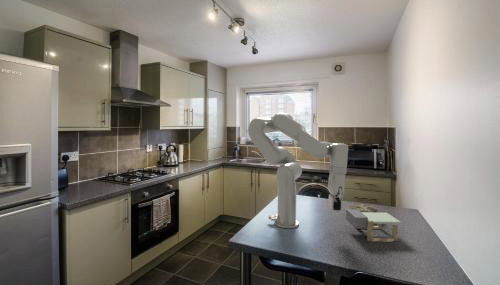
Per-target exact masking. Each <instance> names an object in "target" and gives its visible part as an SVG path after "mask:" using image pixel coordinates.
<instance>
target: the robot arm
mask: <svg viewBox="0 0 500 285" xmlns="http://www.w3.org/2000/svg"><path fill="white" fill-rule="evenodd" d="M279 131H280V132H281V133H283V134H284V135H285V136H287V137H288V138H289V139H291V140H292V141H294V143H295V144H296V145H297V146H298V147H299V148H300V149H302V150H303V151H304V152H306V153H307V154H308V155H310V156H312V157H313V158H315V159H319V160H321V159H324V158H327V157H329V171H328V172H329V174H328V175H329V176H328V182H327V190H328V192H329V193H330V194H331V195H335V201H334V207H333V209H334V210H333V211H336V210H341V202H342V198H343V199H344V196H345V186H346V185H345V184H346V182H345V181H346V179H345V178H346V177H345V176H346V174H347V169H348V168H347V167H348V155H349V145H348V144H346V143H339V142H334V143H333V142H329V141H319V140H318V139H316V138H314V137H313V136H312V135H311V134H310V133H308V131H307V129H306V128H305V126H304V125H302V124H300V122H297V121H296V120H295V119H294V118H293V116H292V115H291V114H290V113H287V112H286V113H284V112H277V113H276V114H274V116H270V117H262V116H261V117H255V118H252V120H251V121H250V122H249V125H248V130H247V132H248V136H249V138H250V141H251V142H252V144H253V145H254V146H255V147H256V148H257V149H258V151H259V152H260V153H261V155H262V156H263V157H264V158H265V160H266V162H268V163H269V165H271V166H279V167H278V168H277V171H276V181H277V182H276V183H277V213H276V214H274V215H268V220H270V221H271V222H273V221H274V225H275V226H276V227H279V228H282V229H294V228H297V227H299V225H300V223H299V220H297V185H296V180H297V179H298V178H301V176H302V173H303V168H302V166H301V164H300V163H299V162H298V160H296V158H295V157H294V156H293V154H292V153H291V152H290V151H289V149H287V148H285V147H283V146H277V145H276V144H275V143H274V142H273V140H272V139H271V138H270V137H269V136H268V135H266V134H270V133H275V132H279ZM337 196H339V197H337Z"/></svg>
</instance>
